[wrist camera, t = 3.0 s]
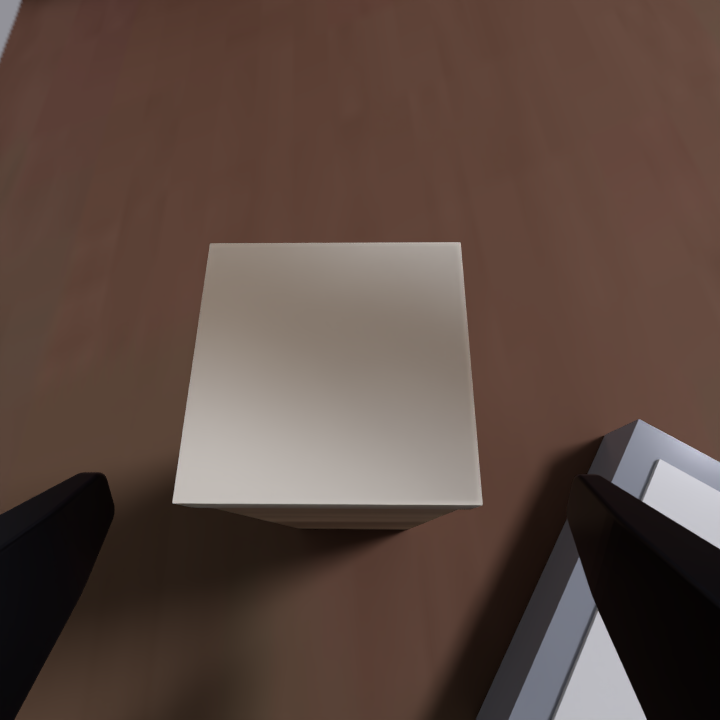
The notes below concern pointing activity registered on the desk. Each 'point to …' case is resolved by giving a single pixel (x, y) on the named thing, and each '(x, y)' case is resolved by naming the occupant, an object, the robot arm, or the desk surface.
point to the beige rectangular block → (331, 386)
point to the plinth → (574, 599)
